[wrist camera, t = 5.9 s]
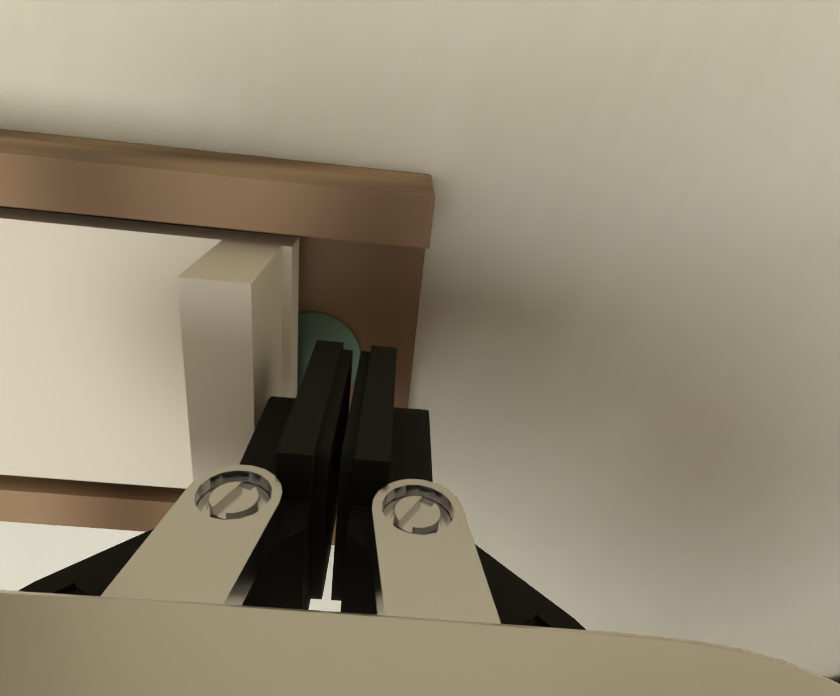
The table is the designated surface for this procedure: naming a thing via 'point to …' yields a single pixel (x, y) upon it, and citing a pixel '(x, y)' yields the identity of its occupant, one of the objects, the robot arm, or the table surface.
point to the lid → (139, 345)
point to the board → (238, 211)
